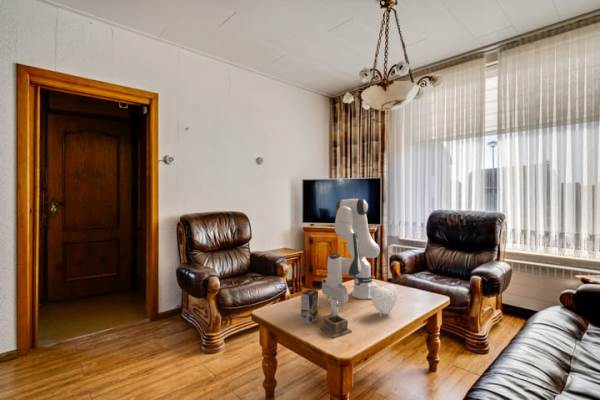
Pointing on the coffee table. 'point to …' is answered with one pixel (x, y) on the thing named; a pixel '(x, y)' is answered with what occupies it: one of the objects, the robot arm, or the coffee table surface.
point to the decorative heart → (384, 298)
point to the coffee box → (309, 306)
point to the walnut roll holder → (335, 326)
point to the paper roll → (334, 307)
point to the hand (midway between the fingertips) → (334, 305)
